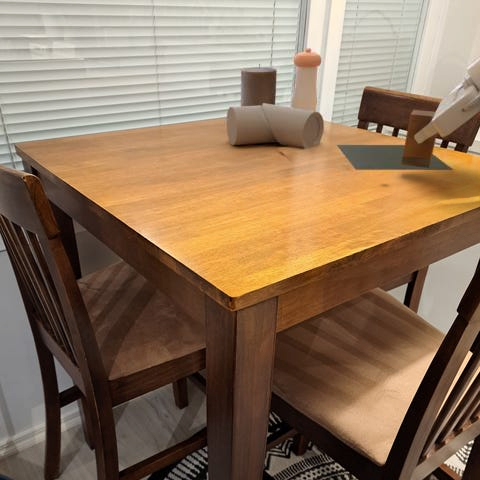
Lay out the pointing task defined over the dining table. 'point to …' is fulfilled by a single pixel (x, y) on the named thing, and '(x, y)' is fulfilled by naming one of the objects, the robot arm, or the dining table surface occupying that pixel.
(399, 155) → the board
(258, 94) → the pillar candle
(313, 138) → the l-shaped cylinder
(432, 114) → the brown upright block
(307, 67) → the pepper shaker
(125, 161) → the dining table surface
